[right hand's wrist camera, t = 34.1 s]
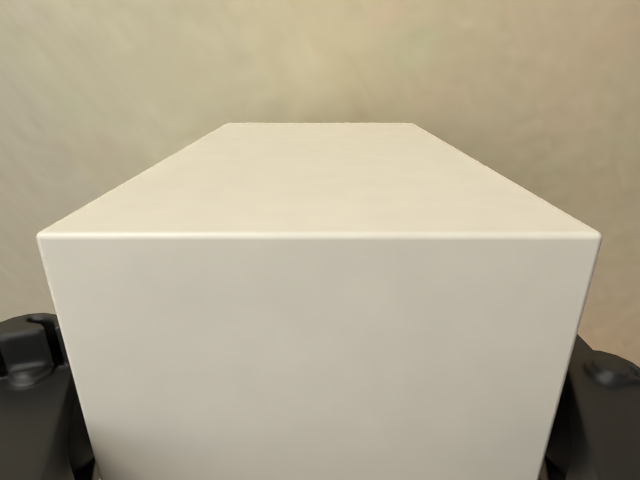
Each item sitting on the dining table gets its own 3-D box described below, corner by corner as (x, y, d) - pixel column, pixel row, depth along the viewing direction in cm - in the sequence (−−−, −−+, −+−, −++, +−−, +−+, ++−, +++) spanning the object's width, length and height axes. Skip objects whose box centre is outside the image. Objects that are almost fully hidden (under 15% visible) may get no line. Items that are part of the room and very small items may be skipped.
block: (398, 316, 18) (499, 637, 8) (241, 316, 18) (139, 636, 8) (413, 122, 15) (607, 234, 5) (226, 122, 15) (31, 233, 5)
